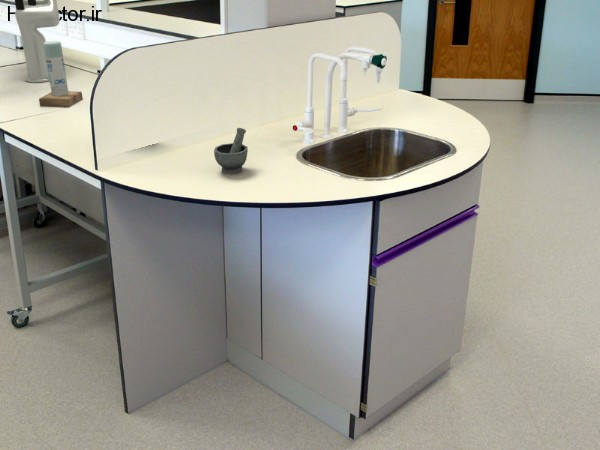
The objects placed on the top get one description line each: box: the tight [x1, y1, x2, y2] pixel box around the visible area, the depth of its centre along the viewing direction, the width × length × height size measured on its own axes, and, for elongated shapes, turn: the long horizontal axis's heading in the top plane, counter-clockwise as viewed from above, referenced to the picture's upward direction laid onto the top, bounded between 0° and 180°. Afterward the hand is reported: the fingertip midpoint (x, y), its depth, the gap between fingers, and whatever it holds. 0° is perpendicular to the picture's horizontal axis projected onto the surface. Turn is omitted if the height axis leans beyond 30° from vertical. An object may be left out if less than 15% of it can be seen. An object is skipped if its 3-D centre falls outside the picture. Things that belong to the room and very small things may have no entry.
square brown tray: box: [38, 90, 84, 108], centre depth 278 cm, size 12×12×3 cm
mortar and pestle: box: [213, 127, 249, 176], centre depth 207 cm, size 11×9×12 cm
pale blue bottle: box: [43, 40, 69, 97], centre depth 273 cm, size 6×6×20 cm
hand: (26, 7), depth 279 cm, fingers open, 9 cm apart
